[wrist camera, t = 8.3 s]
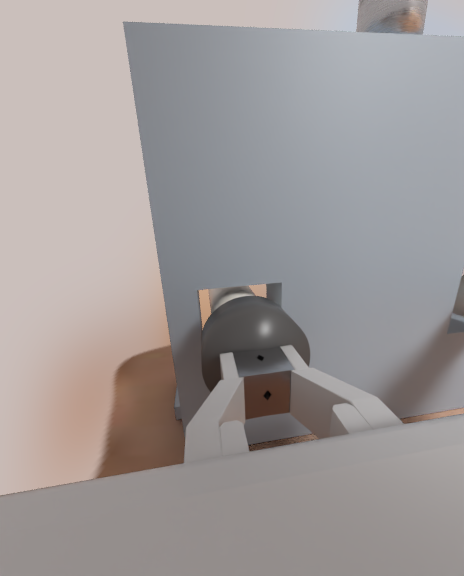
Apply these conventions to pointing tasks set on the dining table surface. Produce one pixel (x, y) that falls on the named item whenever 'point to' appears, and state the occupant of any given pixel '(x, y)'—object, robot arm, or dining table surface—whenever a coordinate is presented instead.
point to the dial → (392, 16)
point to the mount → (311, 198)
